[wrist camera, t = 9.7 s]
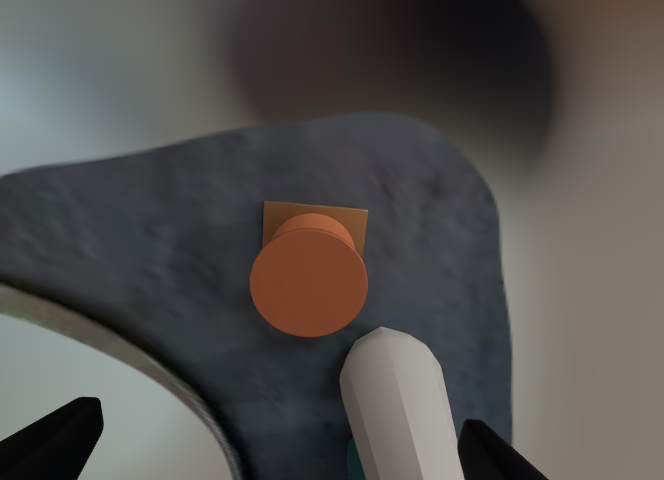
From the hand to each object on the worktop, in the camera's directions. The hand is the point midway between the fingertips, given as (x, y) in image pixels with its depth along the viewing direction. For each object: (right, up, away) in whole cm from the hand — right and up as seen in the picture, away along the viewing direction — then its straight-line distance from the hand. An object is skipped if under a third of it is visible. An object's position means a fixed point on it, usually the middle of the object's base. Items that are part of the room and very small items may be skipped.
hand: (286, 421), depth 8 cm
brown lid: (0, +4, +10) cm, 11 cm away
